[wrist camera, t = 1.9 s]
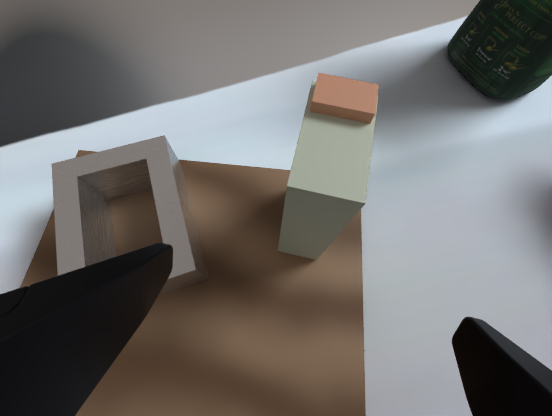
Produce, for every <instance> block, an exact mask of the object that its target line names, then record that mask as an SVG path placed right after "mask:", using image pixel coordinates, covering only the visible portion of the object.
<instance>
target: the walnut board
mask: <svg viewBox="0 0 552 416" xmlns="http://www.w3.org/2000/svg"><path fill="white" fill-rule="evenodd" d="M93 153H97V152H93V151H83V150H79V151H78V153H77V155H76V158H77V157H81V156H85V155H89V154H93ZM179 162H180V164H181V166H182V170H183V174H184V178H185V182H186V186H187V190H188V194H189V198H190V202H191V207H192V211H193V215H194V219H195V223H196V227H197V231H198V235H199V239H200V243H201V247H202V251H203V255H204V259H205V263H206V267H207V271H208V275H209V279H207V280H204V281H201V282H198V283H195V284H192V285H189V286H186V287H183V288H180V289H177V290H174V291H171V292H168V293H165V294H162V295H159V296H158V297H157V299H156V301H155V302H154V304H153V306H152V308H151V309H150V311H149V313H148V314H147V316H146V317H145V319H144V320H143V322H142V323H141V325H140V326H139V328H138V329H137V330H136V332H135V333H134V334H133V336H132V337H131V339H130V340H129V341H128V343H127V344H126V346H125V347H124V348H123V350H122V351H121V353H120V354H119V355H118V357H117V358H116V360H115V361H114V362H113V364H112V365H111V366H110V368H109V369H108V371H107V372H106V373H105V375H104V376H103V378H102V379H101V380H100V382H99V383H98V385H97V386H96V387H95V389H94V390H93V392H92V393H91V394H90V396H89V397H88V399H87V400H86V401H85V403H84V404H83V405H82V407H81V408H80V410H79V411H78V412H77V414H76V415H75V416H366V415H365V371H364V327H363V283H362V239H361V209H360V210H359V211H358V213H357V214H356V215H355V216H354V217H353V218H352V220H351V221H350V222H349V223H348V224H347V225H346V227H345V228H344V229H343V230H342V231H341V232H340V234H339V235H338V236H337V237H336V238H335V239H334V241H333V242H332V243H331V244H330V245H329V246H328V248H327V249H326V250H325V251H324V252H323V253H322V255H321V256H320V257H319V258H318V259H317V260H314V259H310V258H306V257H301V256H297V255H293V254H289V253H284V252H280V251H278V244H279V238H280V231H281V224H282V217H283V210H284V203H285V196H286V189H287V184H288V179H289V175H290V171H291V170H281V169H271V168H260V167H250V166H240V165H229V164H219V163H208V162H198V161H187V160H179ZM110 207H111V215H112V222H113V230H114V237H115V245H116V252H117V256H119V255H122V254H125V253H128V252H131V251H134V250H137V249H140V248H143V247H146V246H149V245H152V244H156V243H159V242H161V243H163V240H162V235H161V230H160V225H159V220H158V215H157V210H156V204H155V199H154V194H153V189H150V190H146V191H142V192H139V193H135V194H132V195H128V196H124V197H121V198H117V199H114V200H110ZM55 276H58V271H57V252H56V234H55V215H54V210H53V212H52V214H51V217H50V219H49V221H48V224H47V226H46V228H45V231H44V233H43V235H42V238H41V240H40V243H39V245H38V247H37V250H36V252H35V254H34V257H33V259H32V261H31V264H30V266H29V269H28V271H27V273H26V276H25V278H24V280H23V283H22V285H21V287H20V288H22V287H25V286H28V287H29V286H30V285H31V284H34V283H37V282H40V281H43V280H46V279H49V278H52V277H55Z"/></svg>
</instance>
